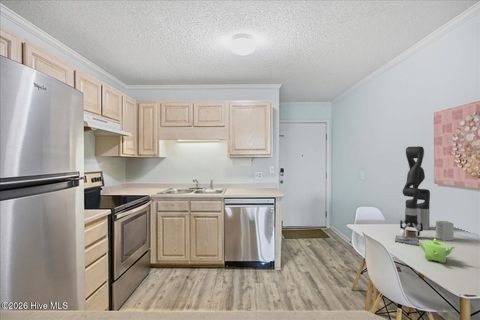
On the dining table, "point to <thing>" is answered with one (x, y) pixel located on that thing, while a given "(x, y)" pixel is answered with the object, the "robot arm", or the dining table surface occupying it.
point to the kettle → (435, 250)
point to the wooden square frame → (411, 234)
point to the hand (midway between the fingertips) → (411, 235)
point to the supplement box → (444, 230)
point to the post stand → (406, 239)
